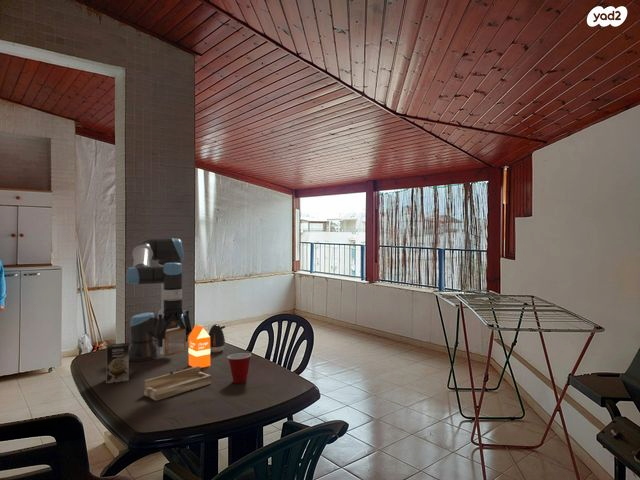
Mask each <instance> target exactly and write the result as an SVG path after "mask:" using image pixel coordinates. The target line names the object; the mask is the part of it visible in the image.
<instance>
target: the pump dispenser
mask: <svg viewBox="0 0 640 480" xmlns="http://www.w3.org/2000/svg"><path fill="white" fill-rule="evenodd" d="M225 328H226V325H223V326H220V325H219V324H217V323H216V324H213V325H211V327H210V329H209V331H208V335H209V336H210V353H219V352H222V351H223V350H224V349H225V345H226V338H225V333H224V331H223V329H225Z"/></svg>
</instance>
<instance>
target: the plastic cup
mask: <svg viewBox="0 0 640 480" xmlns="http://www.w3.org/2000/svg"><path fill="white" fill-rule="evenodd" d="M226 357H227V359H228V362H229V365H230V371H231V377H232V381H233V383H234V384H244V383H246V382H247V379H248V374H249V373H248V372H249V367H250V361H251V357H252V353H250V352H238V353H231V354H229V355H227V356H226Z"/></svg>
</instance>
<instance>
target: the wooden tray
mask: <svg viewBox="0 0 640 480" xmlns="http://www.w3.org/2000/svg"><path fill="white" fill-rule="evenodd" d="M169 372H170V373H166V374H163V375H159V376H156V377H152V378H148V379H145V380H144V381H143V382H144V384H143V388H144V396H146V397H148V398H150V399H152V400H153V401H160V400H162V399H167V398H170V397H172V396H177V395H179V394H181V393H185V392H188V391H191V389H192V390H195V389H198V388H201V387H204V386H207V385H211V384H212V375H211V374H208V373H205V372H202V371H201V368H200V366H196V367H192V366H191V367H189V368H186V369H185V368H184V369H182V370H178V371H173V370H170V371H169Z"/></svg>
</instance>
